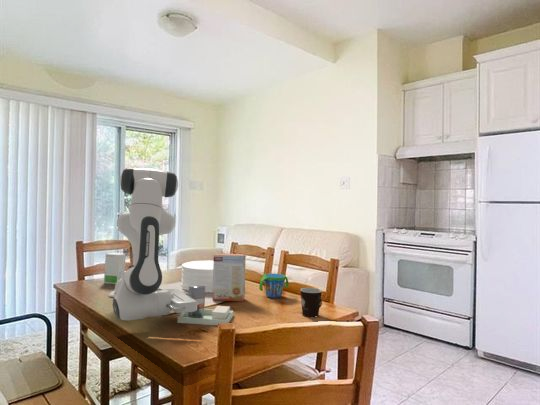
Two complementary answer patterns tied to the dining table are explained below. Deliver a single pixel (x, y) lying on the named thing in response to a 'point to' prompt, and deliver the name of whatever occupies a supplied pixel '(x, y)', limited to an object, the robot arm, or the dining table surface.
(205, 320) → the pale green tray
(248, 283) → the dining table surface
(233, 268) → the cracker box
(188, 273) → the plate stack
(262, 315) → the dining table surface
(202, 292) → the tin
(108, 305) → the dining table surface
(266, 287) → the snack cup
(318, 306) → the coffee mug
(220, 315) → the white rectangular block
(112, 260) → the skincare box
